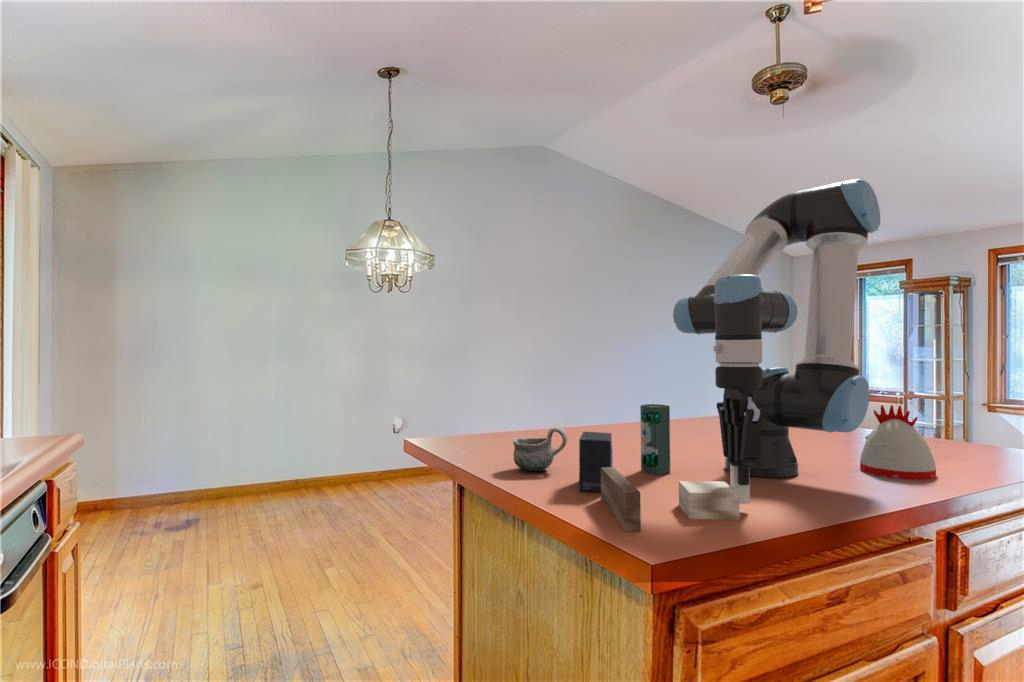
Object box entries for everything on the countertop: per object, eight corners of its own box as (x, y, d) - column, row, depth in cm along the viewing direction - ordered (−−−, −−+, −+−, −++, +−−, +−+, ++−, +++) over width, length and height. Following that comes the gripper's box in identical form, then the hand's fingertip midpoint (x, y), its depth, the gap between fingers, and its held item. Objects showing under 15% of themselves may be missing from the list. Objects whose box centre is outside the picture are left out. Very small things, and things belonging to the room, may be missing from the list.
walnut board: (613, 499, 104) (613, 467, 104) (640, 531, 86) (640, 492, 86) (600, 499, 104) (600, 467, 104) (625, 531, 86) (624, 492, 86)
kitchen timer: (868, 463, 134) (867, 400, 134) (940, 471, 124) (938, 404, 124) (853, 473, 124) (852, 405, 124) (930, 483, 114) (928, 410, 114)
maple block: (724, 506, 99) (724, 481, 99) (739, 520, 91) (739, 493, 91) (679, 506, 100) (678, 481, 100) (689, 520, 92) (689, 492, 92)
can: (638, 469, 129) (637, 404, 129) (663, 468, 130) (662, 404, 130) (647, 475, 123) (646, 407, 123) (673, 474, 124) (673, 406, 124)
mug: (513, 465, 134) (513, 424, 134) (565, 465, 134) (565, 423, 134) (512, 475, 125) (512, 430, 125) (568, 474, 124) (568, 429, 124)
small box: (612, 494, 108) (611, 439, 108) (578, 492, 109) (577, 438, 109) (613, 481, 118) (612, 431, 118) (582, 479, 120) (581, 431, 120)
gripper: (702, 364, 102) (703, 493, 102) (734, 366, 89) (736, 514, 89) (741, 364, 103) (743, 492, 102) (779, 366, 90) (781, 513, 89)
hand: (740, 502), depth 96 cm, fingers closed
